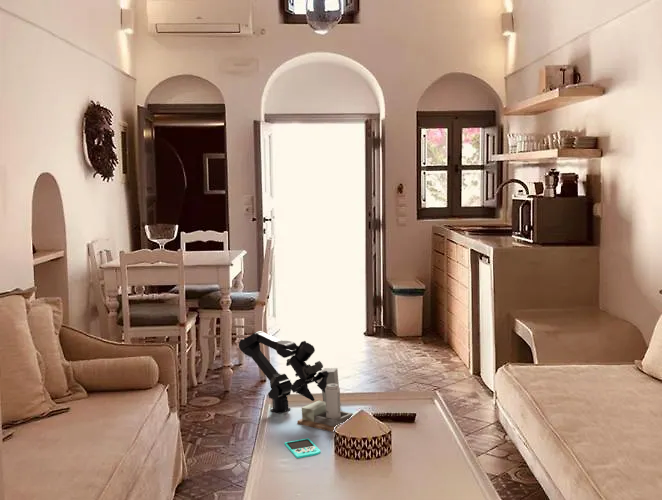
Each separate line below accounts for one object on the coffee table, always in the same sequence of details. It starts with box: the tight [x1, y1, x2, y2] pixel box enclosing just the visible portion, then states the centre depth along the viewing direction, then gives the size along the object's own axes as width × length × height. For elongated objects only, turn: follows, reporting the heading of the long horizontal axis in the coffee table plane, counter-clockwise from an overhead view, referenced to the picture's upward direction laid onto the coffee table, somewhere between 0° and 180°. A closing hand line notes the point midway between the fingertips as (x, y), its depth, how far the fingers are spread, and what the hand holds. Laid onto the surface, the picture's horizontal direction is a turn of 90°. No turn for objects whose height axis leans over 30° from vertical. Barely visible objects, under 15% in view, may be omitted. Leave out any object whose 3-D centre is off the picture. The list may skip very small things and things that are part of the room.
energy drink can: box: [325, 383, 342, 420], centre depth 301 cm, size 6×6×15 cm
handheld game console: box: [284, 437, 322, 459], centre depth 275 cm, size 10×16×1 cm, turn 20°
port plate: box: [296, 400, 354, 433], centre depth 303 cm, size 20×16×6 cm
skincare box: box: [321, 367, 340, 402], centre depth 326 cm, size 8×7×16 cm
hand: (321, 397), depth 305 cm, fingers open, 9 cm apart
